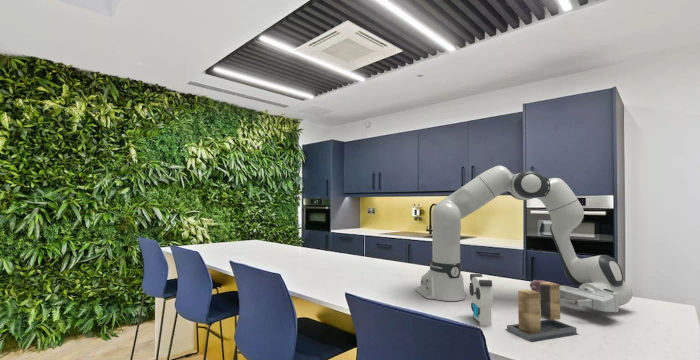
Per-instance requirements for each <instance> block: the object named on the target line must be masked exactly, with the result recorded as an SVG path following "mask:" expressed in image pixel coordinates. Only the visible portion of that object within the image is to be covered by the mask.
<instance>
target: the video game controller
mask: <svg viewBox="0 0 700 360" xmlns="http://www.w3.org/2000/svg"><path fill="white" fill-rule="evenodd" d="M541 282H547V281H546V280H544V279H543V280H541V279H539V280H536V279H533V280H532V281H531V282H530V283H529V288H530V290H533V291H536V292H539V293H540V283H541Z"/></svg>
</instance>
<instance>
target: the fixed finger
mask: <svg viewBox="0 0 700 360" xmlns="http://www.w3.org/2000/svg"><path fill="white" fill-rule="evenodd" d="M517 307H518V309H517V310H518V311H517V313H518V324H519V329H520V330H522V331H524V332H526V333H535V332H541V322H540V321H541V307H540V293H539V292H536V291H533V290H532V289H527V288H525V289H519V290H517Z"/></svg>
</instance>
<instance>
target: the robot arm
mask: <svg viewBox="0 0 700 360" xmlns="http://www.w3.org/2000/svg"><path fill="white" fill-rule="evenodd" d="M503 193H507V194H508V195H509V196H511V197H512V198H514V199H516V200H519V201H529V200H533V199H538V200H540V201H541V202H542V204H543V205H544V207H545V209H546V210H547V213H548V214H549V216H550V220H551V224H550V226H549V227H550V228H549V229H550V234H551V237H552V240H553V242H554V244H555V248H556V250H557V253H558V255H559V257H560V261H561V263H562V267H563V271H564V275H565V277H566V278H567V280H568V281H569V282H570V283H571V284H573V285H574V286H576V287H578V288H576V287H573V286H569V285H559V287H560V300H564V301H566V302H568V303H569V302H570V303H573V304H574V305H576V306H577V307H585V308H587V309H589V310H593V311H594V310H596V311H599V312H604V313H618V312H619V309H620V308H619V307H620V306H623V305H624V306H625V305H626V304H628V303H629V302H630V301H631V300H632V298H633V290H632V288H631V286H630V284H628V283H627V282H626V281H625V280H624V275H623V271H622V268H621V266H620V264H619V263H618V261H616V260H615V259H614V258H613V257H611V256H609V255H606V254H600V255H599V254H598V255H595V256H590V257H584V258H579V257H578V256H577V254H576V252H575V249H574V246H573V244H572V242H571V237H570V236H571V233H572V231H573V230H574V229H576V228H577V227H578V226H579V225H580V224H581V223H582V221H583V220H584V217H585V216H584V215H585V211H584V207H583V206H582V204H581V202H580V201H579V199H578V197H577V195H576V194H575V193H574V192H573V189H571V188H570V187H569V185H568V184H567V182H565V181H564V180H563V179H561V178H559V177H551V178H548V177H545V176H543V175H542V174H541V173H539V172H537V171H535V170H524V171H521V172H519V173H513V172H511V171H510V170H509V169H508V167H506V166H504V165H496V166H494V167H491V168H489V169H487V170H485V171H484V172H481V173H480V174H479V175H477V176H476V177H474V178H473V179H471V180H470V181H469V182H467V183H465V184H464V185H462V186H461V187H460V188H458V189H456V190H455V191H454V192H452V193H451V194H450V195H448V196H447V197H445V198H443V199H442V200H441V201H440V202H438V203H436V204H435V205H434V207H433V209H432V213H431V215H432V216H431V220H432V223H431V227H432V231H431V232H432V234H431V236H432V238H431V239H432V243H431V244H432V260H431V261H430V262H429V265H430V266H429V270H428V271H427V272H426V273H425V274H423V275H422V276H421V278H420V285H419V286H416V287H415V291H416V292H418V294H420V295H422V296H423V297H424V298H426V299H429V300H438V301H445V302H457V301H462V300H465V299H466V296H467V292H466V291H465V286H464V276H463V275H462V273H461V272H462V262H461V229H462V228H461V227H462V224H461V223H462V219H464V218H466V217H468V216H469V215H471V214H473V213H474V212H476V211H477V210H480V209H481V208H482V207H484V206H485V205H487V204H488V203H490V202H491V201H493V200H494V199H496V198H497V197H498V196H500V195H501V194H503Z"/></svg>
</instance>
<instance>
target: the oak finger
mask: <svg viewBox="0 0 700 360" xmlns="http://www.w3.org/2000/svg"><path fill="white" fill-rule="evenodd" d="M559 286H560V284H558V283H555V282H551V281H546V282H541V283H540V317H543V318H545V319H546V320H549V319H554V320H561V299H560V287H559Z"/></svg>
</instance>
